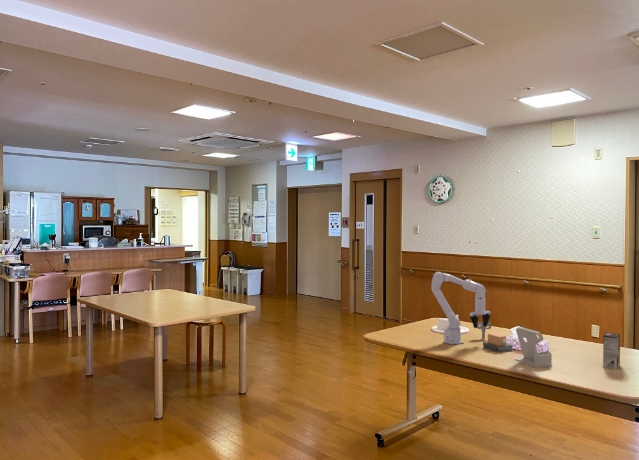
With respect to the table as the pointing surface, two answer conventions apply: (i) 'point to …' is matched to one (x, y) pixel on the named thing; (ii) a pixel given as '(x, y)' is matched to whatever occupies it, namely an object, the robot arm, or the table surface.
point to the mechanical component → (483, 328)
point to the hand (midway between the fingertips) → (480, 327)
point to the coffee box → (611, 350)
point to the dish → (446, 326)
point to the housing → (496, 339)
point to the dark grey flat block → (497, 347)
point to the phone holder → (532, 349)
